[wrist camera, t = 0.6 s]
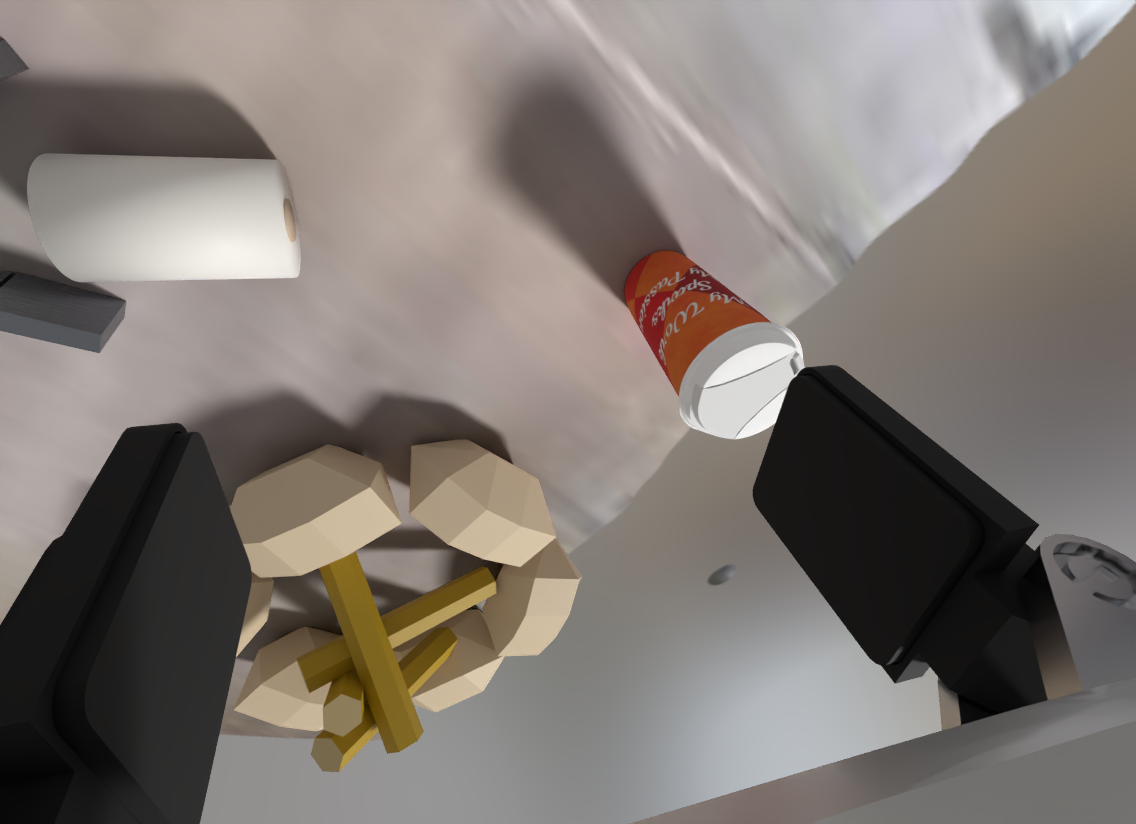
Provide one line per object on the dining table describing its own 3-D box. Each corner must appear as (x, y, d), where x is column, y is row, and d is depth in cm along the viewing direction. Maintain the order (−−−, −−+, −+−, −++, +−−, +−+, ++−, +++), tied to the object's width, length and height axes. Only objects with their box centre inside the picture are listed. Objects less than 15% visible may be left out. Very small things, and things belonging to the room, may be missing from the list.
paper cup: (682, 213, 39) (794, 307, 29) (721, 291, 44) (828, 396, 34) (590, 280, 41) (664, 393, 30) (637, 348, 46) (715, 467, 35)
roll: (110, 251, 32) (68, 304, 28) (60, 137, 28) (2, 177, 24) (306, 249, 35) (297, 297, 30) (285, 144, 31) (271, 182, 26)
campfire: (63, 530, 43) (-74, 779, 30) (477, 352, 42) (521, 525, 29) (331, 698, 66) (319, 879, 53) (600, 583, 65) (655, 737, 52)
